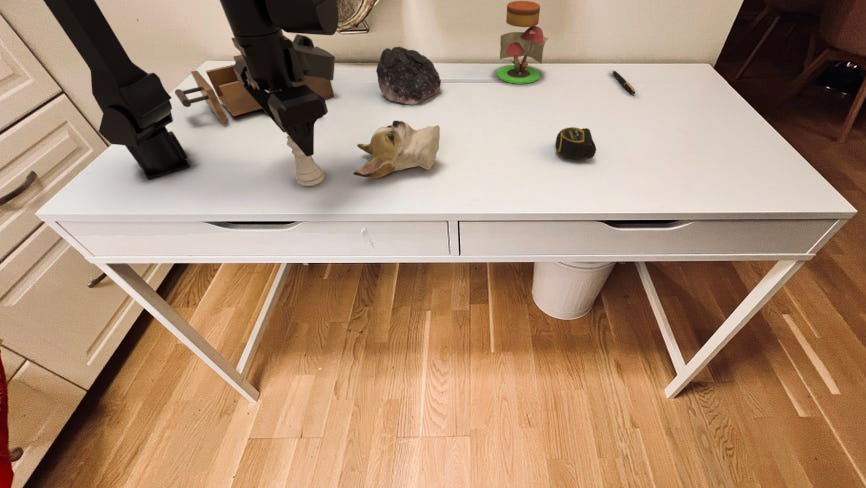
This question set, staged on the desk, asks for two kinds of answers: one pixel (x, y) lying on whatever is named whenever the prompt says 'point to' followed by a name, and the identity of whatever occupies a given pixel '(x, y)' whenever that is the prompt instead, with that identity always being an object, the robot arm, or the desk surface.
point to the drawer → (220, 93)
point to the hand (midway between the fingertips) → (297, 142)
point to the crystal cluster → (407, 76)
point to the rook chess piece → (305, 167)
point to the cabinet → (311, 83)
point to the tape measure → (575, 143)
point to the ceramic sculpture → (399, 149)
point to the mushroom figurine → (522, 43)
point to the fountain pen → (624, 82)
